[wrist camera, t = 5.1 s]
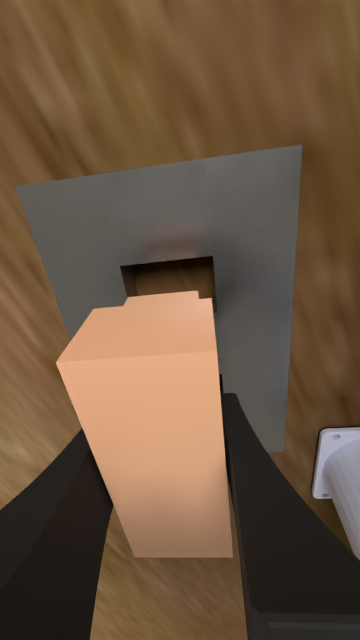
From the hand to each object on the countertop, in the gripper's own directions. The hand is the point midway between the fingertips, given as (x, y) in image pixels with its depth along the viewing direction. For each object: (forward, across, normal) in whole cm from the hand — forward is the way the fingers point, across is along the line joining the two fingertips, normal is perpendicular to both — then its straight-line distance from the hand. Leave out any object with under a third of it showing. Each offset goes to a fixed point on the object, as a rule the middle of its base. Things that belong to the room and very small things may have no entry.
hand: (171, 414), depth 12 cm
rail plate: (+7, 0, 0) cm, 7 cm away
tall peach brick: (+3, 0, 0) cm, 3 cm away
